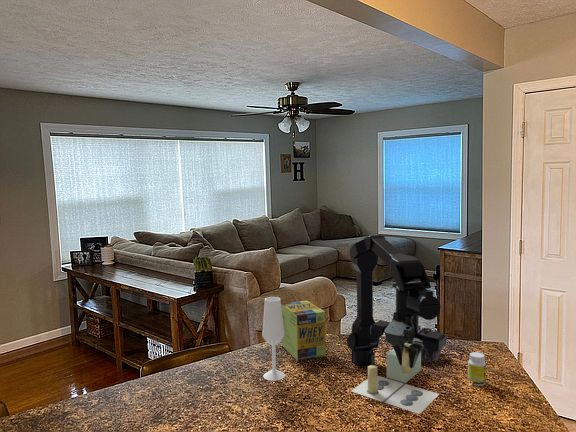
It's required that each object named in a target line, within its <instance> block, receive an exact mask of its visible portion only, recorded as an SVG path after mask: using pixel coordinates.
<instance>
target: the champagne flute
mask: <svg viewBox="0 0 576 432" xmlns="http://www.w3.org/2000/svg"><path fill="white" fill-rule="evenodd" d="M281 301H282V300H281V297H279V296H269V297H265V298H264V301H263V302H264V303H263V304H264V305H263V319H262V330H261V333H262V338H263V340H264V341H265V342H266V343H267V344H269V345H270V346H271V370H268V371H267V372H265V373H264V374H263V378H264V379H265V380H267V381H274V382H276V381H280V380H283V379H284V378H285V377H286V375H285V373H284V372H282V371H280V370H279V369H277V362H276V361H277V360H276V359H277V356H276V353H277V352H276V349H277V348H276V345H278V344H279V343H281V342H282V339H283V337H284V326H283V317H282V309H281V303H282V302H281Z"/></svg>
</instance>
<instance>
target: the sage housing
mask: <svg viewBox="0 0 576 432" xmlns="http://www.w3.org/2000/svg"><path fill="white" fill-rule="evenodd" d="M405 344H407V343H405ZM409 345H411V344H409ZM401 371H402V366H401V365H400V364H399V361H398V358H397V356H396V353H395V350H394V348H392V349H391V350H389V351H388V352H386V375H385V376H386V377H385V378H387V379H390V380H394V381H397V382H400V383H405V384H407V383H408V382H409V381H410V380H411V379H413V377H415V375H417V374H419V372H420V371H422V362H421V352H420V354H419V356H418V358H417V361H416V363H415V365H414V367H413V368H412V373H411V374H403V373H402V372H401Z"/></svg>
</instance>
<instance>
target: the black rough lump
mask: <svg viewBox="0 0 576 432" xmlns="http://www.w3.org/2000/svg"><path fill="white" fill-rule="evenodd" d="M430 331H433V330H432V329H431V328H430V327H422V328H421V330H420V331H419V333H422V334H427V333H429V332H430ZM434 332H438V333H440V331H438V330H434ZM413 342H414V341H413V340H412V342H411V341H407V342H405V343H407V344H413ZM442 348H443V347H442ZM442 348H441V349H440V350H439V351H434V350H430V349H426V348H425V347H424V348H423V349H422V350H421V363H430V362H435V361H438V360H439V358H440V355H441V353H442V350H443V349H442Z"/></svg>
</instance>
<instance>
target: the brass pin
mask: <svg viewBox="0 0 576 432" xmlns="http://www.w3.org/2000/svg"><path fill="white" fill-rule="evenodd" d="M409 346H410V345H409V344H404V345H402V371H401V372H402V373H403V374H411V373H412V368H411V367H410V358H411V349H410V347H409Z"/></svg>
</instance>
